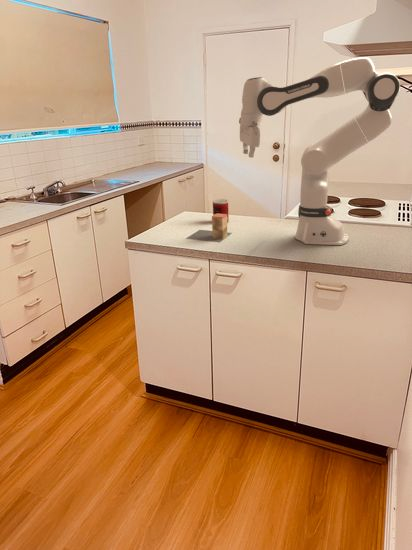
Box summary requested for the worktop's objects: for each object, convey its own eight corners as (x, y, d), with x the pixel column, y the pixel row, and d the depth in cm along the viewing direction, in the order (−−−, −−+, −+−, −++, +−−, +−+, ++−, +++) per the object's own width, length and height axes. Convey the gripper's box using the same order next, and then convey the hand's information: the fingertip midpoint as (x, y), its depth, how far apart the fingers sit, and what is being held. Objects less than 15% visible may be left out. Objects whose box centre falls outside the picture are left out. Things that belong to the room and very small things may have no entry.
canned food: (229, 220, 211) (228, 198, 206) (228, 224, 204) (227, 202, 199) (214, 220, 212) (213, 199, 207) (213, 224, 204) (212, 203, 200)
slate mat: (232, 234, 189) (232, 232, 189) (219, 243, 178) (219, 242, 177) (199, 230, 196) (199, 229, 196) (185, 239, 185) (185, 238, 185)
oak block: (227, 235, 185) (226, 214, 181) (222, 239, 181) (222, 217, 177) (217, 234, 188) (216, 213, 184) (212, 237, 183) (211, 216, 179)
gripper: (265, 123, 160) (262, 159, 165) (252, 119, 178) (249, 152, 184) (250, 122, 159) (246, 159, 164) (238, 118, 177) (235, 151, 183)
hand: (248, 155), depth 174 cm, fingers open, 8 cm apart
